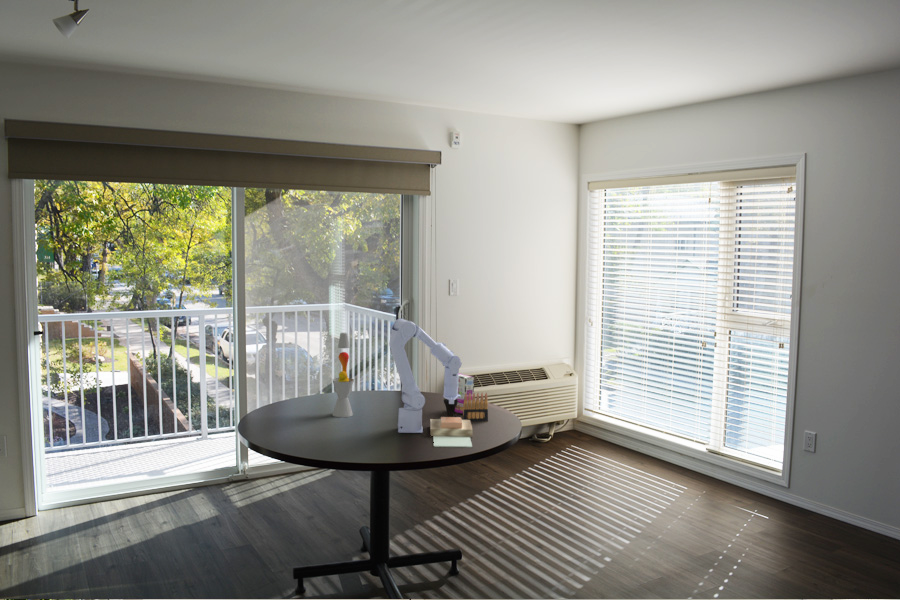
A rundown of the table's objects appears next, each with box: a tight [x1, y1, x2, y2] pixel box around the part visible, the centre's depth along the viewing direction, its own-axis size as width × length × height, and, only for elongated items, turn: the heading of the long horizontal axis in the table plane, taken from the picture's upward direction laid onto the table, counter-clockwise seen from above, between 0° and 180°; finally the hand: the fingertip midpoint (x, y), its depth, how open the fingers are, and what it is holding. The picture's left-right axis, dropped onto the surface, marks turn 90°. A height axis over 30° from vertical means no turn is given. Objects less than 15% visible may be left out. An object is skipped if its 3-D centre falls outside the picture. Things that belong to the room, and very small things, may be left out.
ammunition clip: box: [461, 392, 489, 422], centre depth 268 cm, size 11×2×12 cm, turn 101°
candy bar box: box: [454, 372, 475, 415], centre depth 282 cm, size 11×5×16 cm, turn 37°
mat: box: [432, 436, 473, 448], centre depth 238 cm, size 14×12×1 cm
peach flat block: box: [440, 416, 462, 428], centre depth 250 cm, size 8×8×2 cm
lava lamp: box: [332, 332, 355, 418], centre depth 271 cm, size 9×9×35 cm
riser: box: [429, 418, 474, 438], centre depth 251 cm, size 16×14×3 cm
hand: (450, 417), depth 259 cm, fingers closed
